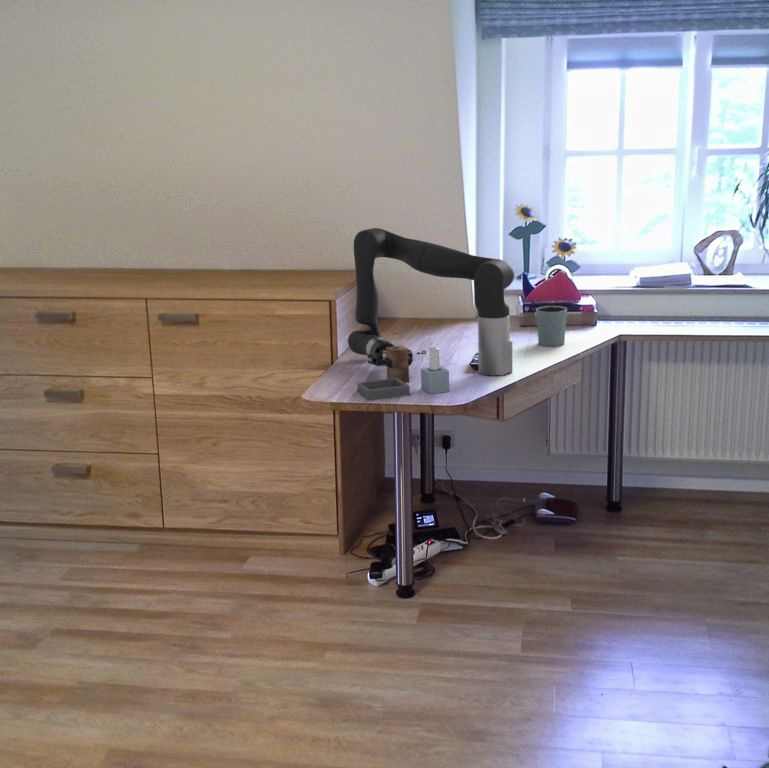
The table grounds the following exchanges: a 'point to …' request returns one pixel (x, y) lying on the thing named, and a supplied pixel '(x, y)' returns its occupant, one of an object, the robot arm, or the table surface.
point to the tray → (383, 388)
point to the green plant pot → (551, 325)
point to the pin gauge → (434, 359)
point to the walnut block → (398, 363)
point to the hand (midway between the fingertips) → (400, 363)
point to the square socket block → (435, 380)
